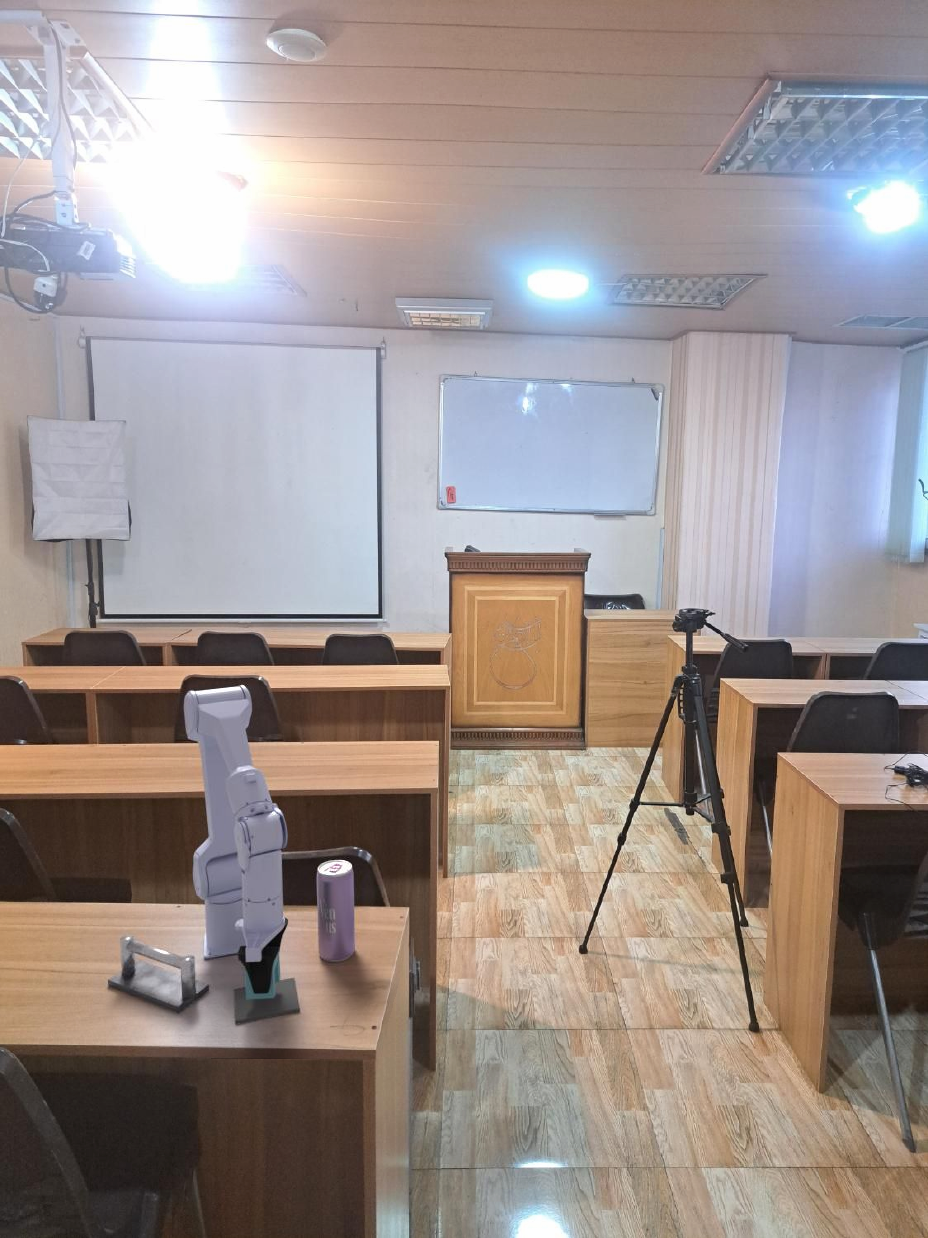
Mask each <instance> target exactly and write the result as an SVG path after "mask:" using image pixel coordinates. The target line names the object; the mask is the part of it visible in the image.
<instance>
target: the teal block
mask: <svg viewBox="0 0 928 1238" xmlns="http://www.w3.org/2000/svg"><path fill="white" fill-rule="evenodd" d="M280 963H281V962H280V952H279V951H278V954H277V956H276V958H275V960H274V964H273V969H272V978H271V985H270V989H269V992H268V993H263V994H254V992H253V989H252V986H251V982H250V979H249V976H248V973H247V971H246V969H245V967H244V966H243V967H244V983H245V986H244V987H246V1000H247V999H265V998H274V997H275V993H276V990H275V983H279V981H280V980H281V964H280Z"/></svg>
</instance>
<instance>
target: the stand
mask: <svg viewBox="0 0 928 1238" xmlns="http://www.w3.org/2000/svg"><path fill="white" fill-rule="evenodd" d="M119 943H120V944H119V947H120V960H121V961H120V962H121V963H120V964H121V971H120V972H118V973H116V974H115V975H113V976H112V977H110V978H109V979H107V986H108V987H110V988H113V989H115V990H118V991H120V992H123V993H126V994H128V995H130V996H134V997H136V998H138V999H140V1000H141V999H142V1000H143V1001H146V1002H149V1003H150V1004H151V1003H152V1004H154V1005H156V1006H159V1007H162V1008H164V1009H167V1010H168V1011H169V1010H170V1011H172V1012H174V1013H177V1014H179V1013H181V1012H182V1011H183V1010H185V1009H187V1007H189V1006H190V1005H192V1004H193V1003H194V1002H196V1001H197V1000H199V999H200V998H202V997H203V996H204V995H206V993H208V992H210V984H209V983H207V982H202V981H200V980H198V979H197V978H196V962H195V959H196V957H195V955H192V954H188V955H185V956H181V955H178V954H175V953H173V952H169V951H167V950H163V949H160V948H157V947H154V946H153V945H149V944H146V943H143V942H141V941H137V940H135V936H134V935H133V934H126V935H124V936H122V937H120V938H119ZM136 954H137V955H140V956H142V957H145V958H147V959H150V960H154V961H157V962H159V963H162V964H164V965H168V966H171V967H173V968H176V969H179V970H180V973H178V972H176V971H172V970H169V969H167V968H164V967H161V966H157V965H155V964H153V963H150V962H147V961H144V960H141V959H140V960H138V961H137V962H136Z"/></svg>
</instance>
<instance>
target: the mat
mask: <svg viewBox="0 0 928 1238" xmlns="http://www.w3.org/2000/svg"><path fill="white" fill-rule="evenodd" d="M295 979H296V978H295V977H291V978H285V979H280V981H279V983H275V990H276V993H275V997H274V998H265V999H247V1000H246V987H245V986H241V987H236V988H234V989H233V997H234V998H233V1000H234V1021H235V1022H234V1023H235V1025H238V1024H239V1025H240V1024H243V1023H244V1024H245V1023H249V1022H253V1021H259V1020H262V1019H267V1018H268V1019H269V1018H274V1017H278V1016H282V1015H289V1014H293V1013H298V1012H300V1009H301V1008H300V1004H299V1003H300V1002H299V998H298V991H297V985H296V980H295Z"/></svg>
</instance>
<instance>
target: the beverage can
mask: <svg viewBox="0 0 928 1238" xmlns="http://www.w3.org/2000/svg"><path fill="white" fill-rule="evenodd" d="M354 880H355V879H354V870H353V865H352V863H351V862H349V861H346V860H342V859H335V860H328V861H325V862H323V863H320V864H319V866H318V867H317V872H316V899H317V900H316V901H317V905H316V906H317V908H316V909H317V936H318V937H317V941H318V942H317V943H318V947H317V948H318V954H319V956H320V957H321V958H322V959H323V961H325V962H328V963H329V962H330V963H339V962H343V961H346V960H348V959H349V958H350V957H352V955H353V954H354V952H355V949H356V941H355V940H356V939H355V938H356V936H355V934H356V932H355V927H356V926H355V887H354V886H355V883H354V882H355V881H354Z"/></svg>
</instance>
